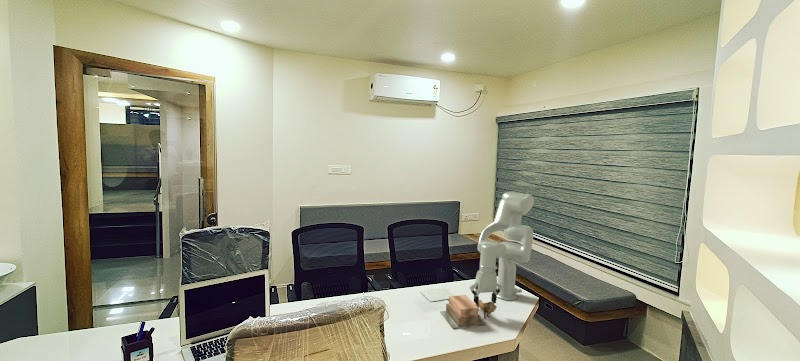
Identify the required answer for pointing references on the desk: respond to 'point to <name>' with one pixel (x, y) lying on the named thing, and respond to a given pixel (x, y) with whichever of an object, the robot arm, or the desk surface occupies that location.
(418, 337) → the desk surface
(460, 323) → the block tower
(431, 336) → the desk surface
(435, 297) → the paper stack
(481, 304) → the lion figurine
